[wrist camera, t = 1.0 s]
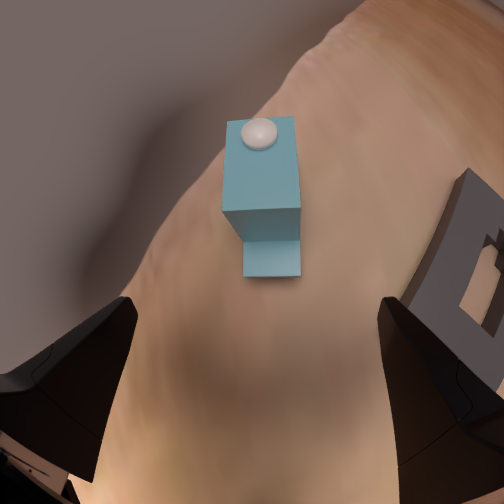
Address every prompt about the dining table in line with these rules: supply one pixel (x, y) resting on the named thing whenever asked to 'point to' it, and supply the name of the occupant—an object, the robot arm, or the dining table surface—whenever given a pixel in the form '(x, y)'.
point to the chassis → (463, 278)
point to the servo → (264, 195)
